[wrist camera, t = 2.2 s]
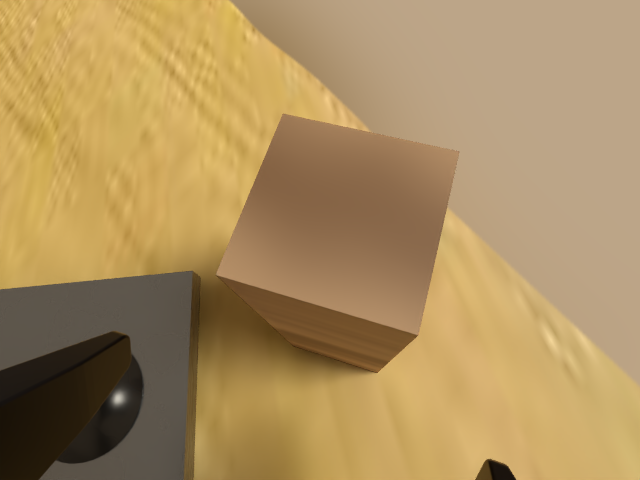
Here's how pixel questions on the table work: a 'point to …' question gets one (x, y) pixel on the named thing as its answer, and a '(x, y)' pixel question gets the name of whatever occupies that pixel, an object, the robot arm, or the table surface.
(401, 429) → the table surface
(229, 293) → the table surface
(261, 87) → the table surface
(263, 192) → the post
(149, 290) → the bolt plate
